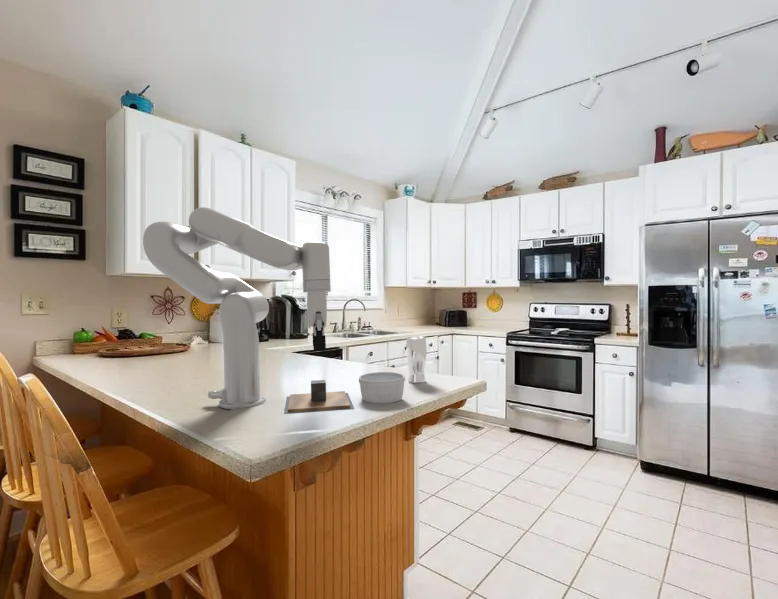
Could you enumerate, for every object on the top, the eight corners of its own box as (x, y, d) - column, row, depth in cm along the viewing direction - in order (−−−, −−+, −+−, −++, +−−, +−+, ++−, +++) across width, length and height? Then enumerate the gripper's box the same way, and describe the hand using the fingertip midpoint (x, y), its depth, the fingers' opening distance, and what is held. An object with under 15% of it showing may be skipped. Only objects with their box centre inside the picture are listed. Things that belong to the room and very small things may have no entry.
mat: (283, 415, 107) (283, 413, 107) (286, 398, 124) (286, 396, 124) (354, 410, 110) (354, 408, 110) (347, 394, 128) (347, 392, 128)
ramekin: (367, 408, 112) (366, 382, 112) (353, 397, 125) (353, 374, 124) (412, 403, 117) (412, 378, 117) (394, 392, 129) (394, 370, 129)
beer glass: (427, 383, 141) (427, 338, 141) (406, 383, 141) (406, 339, 141) (426, 379, 148) (425, 336, 148) (406, 379, 148) (405, 337, 148)
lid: (288, 412, 108) (287, 390, 108) (290, 397, 124) (289, 377, 123) (350, 408, 111) (349, 386, 111) (344, 393, 127) (344, 374, 127)
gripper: (303, 287, 124) (305, 345, 125) (302, 286, 107) (305, 353, 108) (328, 287, 126) (330, 344, 126) (332, 286, 109) (334, 351, 109)
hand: (319, 348), depth 117 cm, fingers open, 9 cm apart
